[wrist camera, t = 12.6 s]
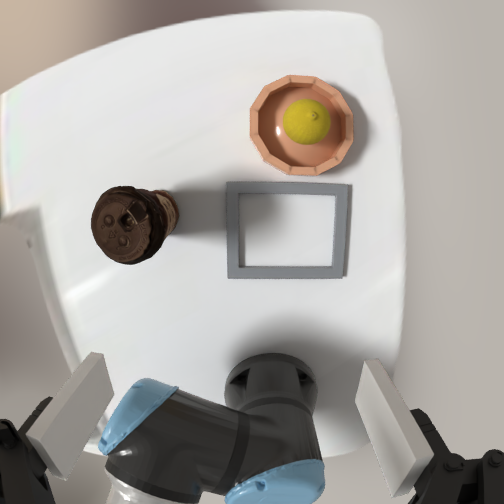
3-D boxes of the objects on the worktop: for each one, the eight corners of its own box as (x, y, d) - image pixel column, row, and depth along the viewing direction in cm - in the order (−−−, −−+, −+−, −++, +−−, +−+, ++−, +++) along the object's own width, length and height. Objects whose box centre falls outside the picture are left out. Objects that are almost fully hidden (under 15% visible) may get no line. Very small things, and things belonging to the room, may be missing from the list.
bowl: (346, 177, 39) (353, 177, 36) (250, 174, 39) (249, 174, 36) (345, 86, 36) (351, 80, 33) (250, 81, 36) (250, 74, 33)
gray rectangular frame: (340, 276, 42) (342, 278, 42) (228, 276, 43) (227, 278, 42) (346, 184, 39) (348, 184, 38) (227, 181, 39) (226, 182, 39)
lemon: (284, 151, 38) (293, 144, 30) (275, 111, 36) (281, 94, 28) (325, 144, 37) (343, 136, 29) (316, 104, 36) (331, 88, 28)
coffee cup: (190, 183, 39) (161, 186, 27) (189, 243, 41) (161, 272, 29) (130, 182, 39) (83, 187, 27) (130, 241, 41) (86, 266, 29)
